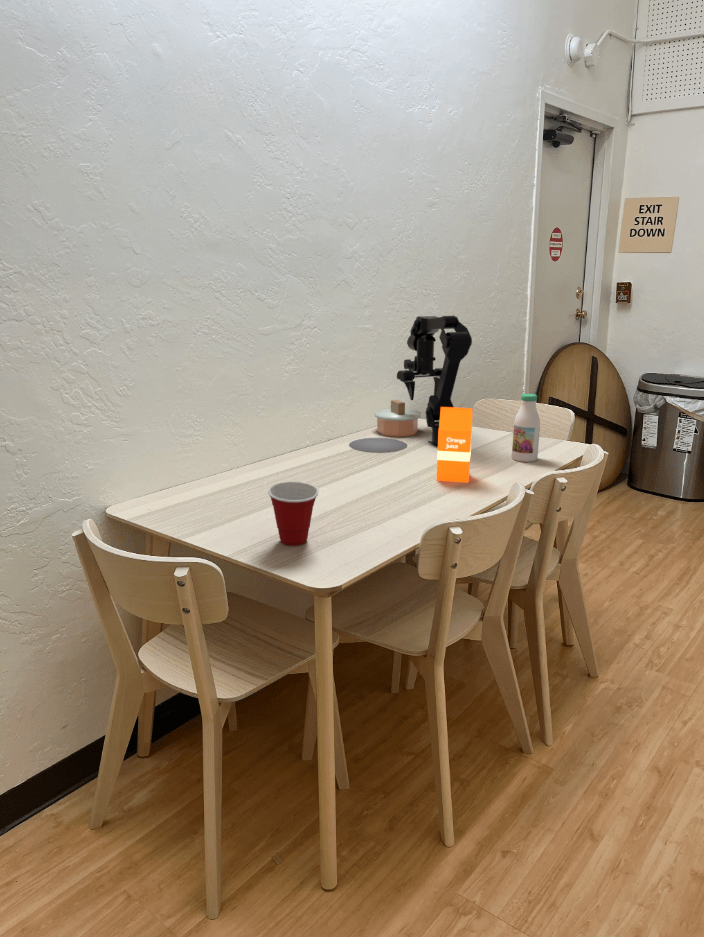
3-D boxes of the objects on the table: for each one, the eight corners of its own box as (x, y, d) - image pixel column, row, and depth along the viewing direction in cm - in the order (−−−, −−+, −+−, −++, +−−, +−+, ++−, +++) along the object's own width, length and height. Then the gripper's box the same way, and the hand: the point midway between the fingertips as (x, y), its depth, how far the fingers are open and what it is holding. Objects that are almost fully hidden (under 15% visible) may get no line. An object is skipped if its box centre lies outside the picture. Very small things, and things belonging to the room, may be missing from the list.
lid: (428, 418, 244) (429, 404, 243) (386, 422, 238) (387, 407, 237) (407, 409, 258) (407, 395, 257) (367, 412, 252) (367, 399, 251)
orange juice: (468, 482, 195) (472, 411, 190) (436, 480, 197) (439, 409, 191) (469, 474, 203) (473, 405, 197) (438, 472, 204) (441, 404, 199)
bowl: (422, 434, 247) (423, 418, 245) (388, 438, 242) (388, 421, 240) (405, 426, 258) (405, 410, 256) (372, 430, 253) (372, 413, 251)
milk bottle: (521, 454, 223) (526, 391, 218) (542, 459, 218) (548, 395, 212) (506, 458, 219) (510, 394, 213) (527, 464, 213) (532, 398, 207)
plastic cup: (285, 555, 148) (284, 500, 144) (260, 539, 156) (258, 487, 153) (329, 543, 154) (328, 490, 150) (302, 528, 162) (301, 478, 159)
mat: (417, 450, 227) (417, 449, 227) (363, 456, 220) (363, 455, 220) (391, 436, 244) (391, 435, 244) (340, 441, 237) (340, 440, 237)
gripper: (437, 349, 252) (435, 393, 257) (390, 352, 245) (389, 397, 249) (453, 353, 242) (451, 398, 247) (404, 356, 235) (403, 402, 240)
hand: (423, 399), depth 246 cm, fingers open, 9 cm apart
